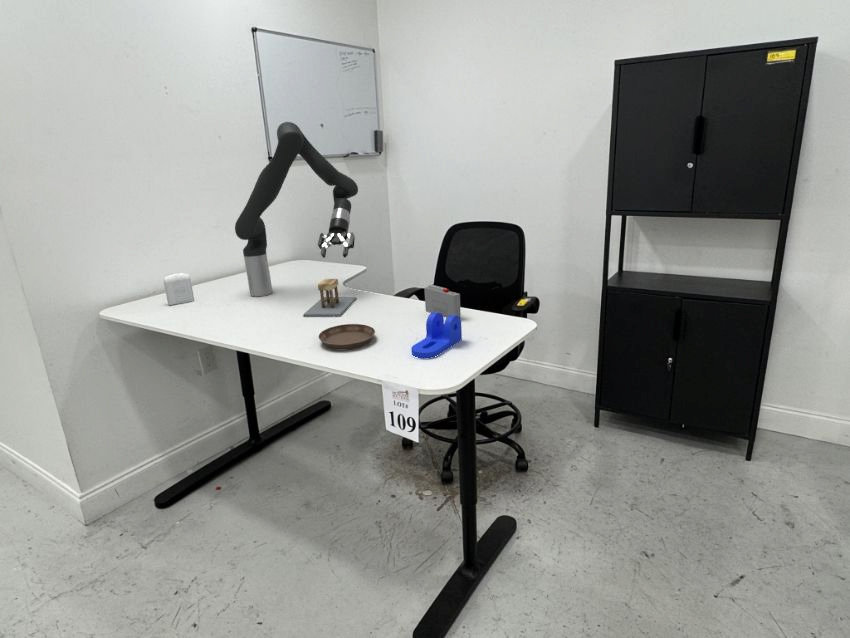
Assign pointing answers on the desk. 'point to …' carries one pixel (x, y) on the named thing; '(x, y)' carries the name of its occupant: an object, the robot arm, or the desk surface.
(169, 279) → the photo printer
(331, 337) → the plant saucer
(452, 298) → the cassette player
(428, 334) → the bracket
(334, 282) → the oak stool
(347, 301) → the grey mat
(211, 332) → the desk surface
